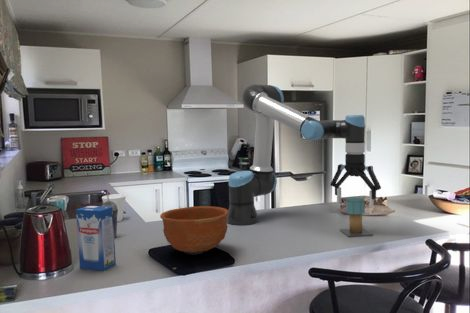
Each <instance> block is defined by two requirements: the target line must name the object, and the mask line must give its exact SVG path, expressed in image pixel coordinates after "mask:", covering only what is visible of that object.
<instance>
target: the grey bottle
mask: <svg viewBox="0 0 470 313" xmlns="http://www.w3.org/2000/svg"><path fill="white" fill-rule="evenodd" d="M106 195H107V199H108V201H107V202H105V203H104V204H103V203H102V205H101V206H102V207H112V209H113V226H114V239H116V238H117V233H118V232H117V231H118V229H117V226H118V224H117V223H118V222H117V214H118V209H117V206H116V204H115V203H114V202H111V201H109V196H108V195H109V190H107V191H106Z"/></svg>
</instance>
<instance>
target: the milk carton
mask: <svg viewBox="0 0 470 313" xmlns="http://www.w3.org/2000/svg"><path fill="white" fill-rule="evenodd" d="M75 213H76V215H75V216H76V228H77V243H78V245H77V246H78V257H79V268H80V269H84V270H92V271H101V272H105V271H107V270H108V269H110V268H113V267H115V266H116V265H117V263H116V261H117V260H116V247H115V246H116V245H115V238H114V226H113V209H112V207H102V205H101V206H99V205H98V206H97V205H87V206H83V207H81V208H77V209H75Z"/></svg>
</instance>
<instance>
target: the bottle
mask: <svg viewBox="0 0 470 313" xmlns="http://www.w3.org/2000/svg"><path fill="white" fill-rule="evenodd" d="M348 216H349V218H348V221H349V225H348V226H349V228H341V229H339V232H341V233H342V234H344V235H345V236H346V237H347V238H357V237H359V238H360V237H373V236H374V234H373V233H371V231H368V230H367V229H366V228H364V227H363V214H349V215H348Z"/></svg>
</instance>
